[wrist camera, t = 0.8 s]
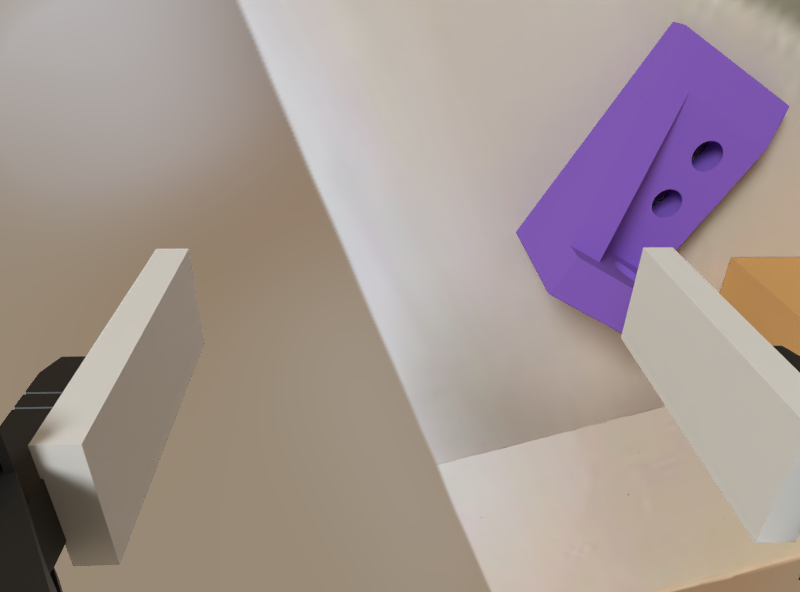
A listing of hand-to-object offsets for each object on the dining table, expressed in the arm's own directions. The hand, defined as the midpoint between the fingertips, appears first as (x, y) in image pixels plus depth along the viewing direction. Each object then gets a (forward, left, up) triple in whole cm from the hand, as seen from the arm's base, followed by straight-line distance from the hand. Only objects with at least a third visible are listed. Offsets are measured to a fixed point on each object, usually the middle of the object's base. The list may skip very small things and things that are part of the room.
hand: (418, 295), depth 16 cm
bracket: (-13, +2, -17) cm, 21 cm away
